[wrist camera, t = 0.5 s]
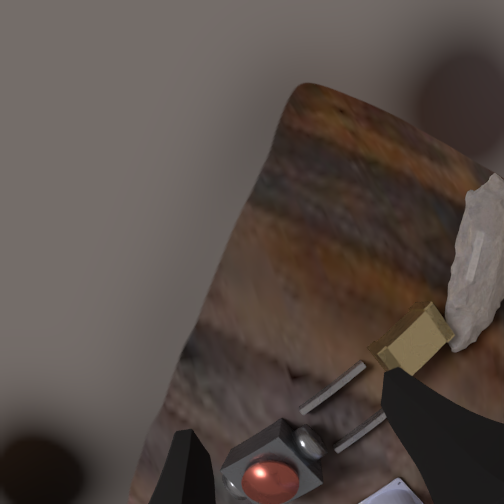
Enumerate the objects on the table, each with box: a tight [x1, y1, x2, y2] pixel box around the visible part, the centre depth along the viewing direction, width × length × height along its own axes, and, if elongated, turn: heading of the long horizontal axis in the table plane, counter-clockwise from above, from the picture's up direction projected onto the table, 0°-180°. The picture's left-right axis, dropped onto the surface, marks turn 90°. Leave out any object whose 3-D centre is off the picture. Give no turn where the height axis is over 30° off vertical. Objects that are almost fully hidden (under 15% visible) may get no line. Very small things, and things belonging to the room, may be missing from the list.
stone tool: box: [445, 173, 504, 352], centre depth 30 cm, size 12×5×25 cm
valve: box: [220, 360, 387, 504], centre depth 29 cm, size 8×22×7 cm, turn 129°
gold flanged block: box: [367, 301, 455, 376], centre depth 30 cm, size 5×8×5 cm, turn 129°
